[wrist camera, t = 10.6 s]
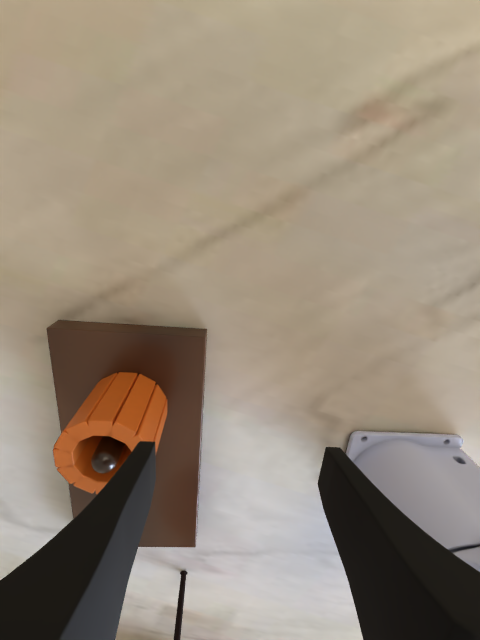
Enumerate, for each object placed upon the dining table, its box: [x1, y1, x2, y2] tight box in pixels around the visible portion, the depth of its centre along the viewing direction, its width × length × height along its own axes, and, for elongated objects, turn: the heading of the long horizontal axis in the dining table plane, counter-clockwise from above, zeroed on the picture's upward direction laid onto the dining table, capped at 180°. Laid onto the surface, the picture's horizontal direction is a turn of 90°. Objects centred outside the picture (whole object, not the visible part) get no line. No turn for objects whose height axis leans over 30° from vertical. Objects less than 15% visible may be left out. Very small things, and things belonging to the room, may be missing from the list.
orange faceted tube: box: [53, 372, 167, 494], centre depth 19 cm, size 5×5×5 cm
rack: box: [47, 320, 207, 547], centre depth 21 cm, size 10×20×7 cm, turn 175°
